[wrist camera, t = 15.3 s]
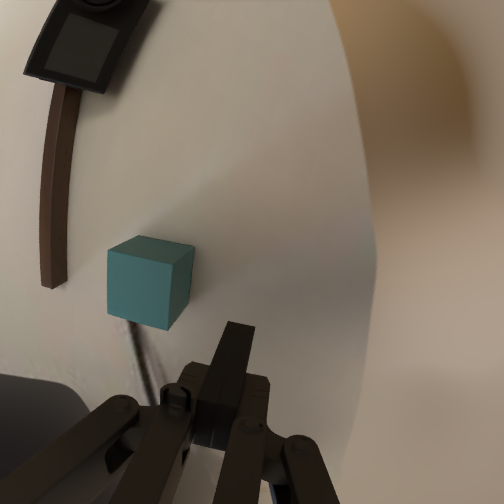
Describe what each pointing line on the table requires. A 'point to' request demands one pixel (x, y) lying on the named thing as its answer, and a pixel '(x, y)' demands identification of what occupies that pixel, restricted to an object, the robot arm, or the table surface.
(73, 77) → the digital camera
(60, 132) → the rail
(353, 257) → the table surface
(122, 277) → the teal block
